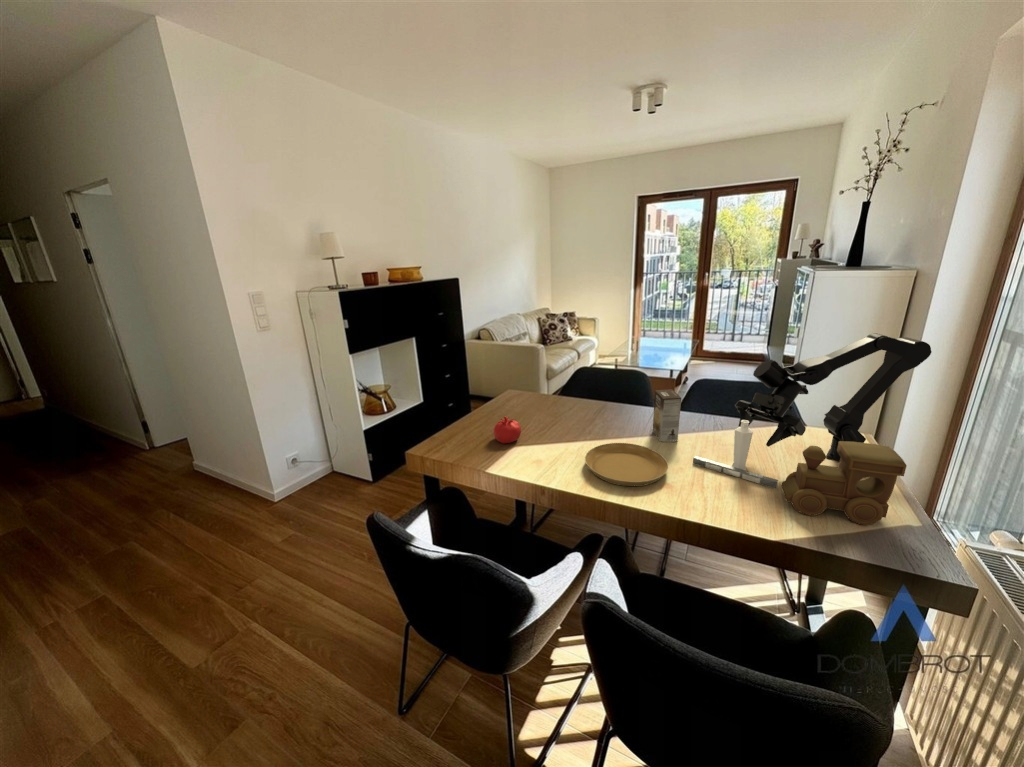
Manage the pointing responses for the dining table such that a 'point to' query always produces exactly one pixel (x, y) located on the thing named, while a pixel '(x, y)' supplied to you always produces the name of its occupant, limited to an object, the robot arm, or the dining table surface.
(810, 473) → the wooden toy train
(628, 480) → the plant saucer
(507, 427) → the pomegranate
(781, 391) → the robot arm
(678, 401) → the coffee box
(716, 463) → the rail
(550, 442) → the dining table surface
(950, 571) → the dining table surface
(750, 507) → the dining table surface
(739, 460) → the cream angular vase
